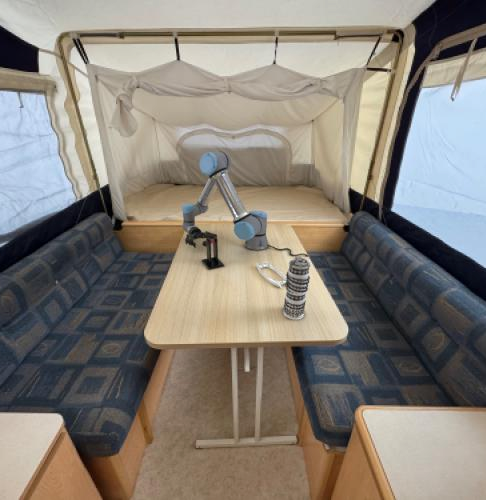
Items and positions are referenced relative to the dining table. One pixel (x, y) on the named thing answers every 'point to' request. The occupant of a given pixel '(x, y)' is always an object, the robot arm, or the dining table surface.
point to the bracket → (213, 261)
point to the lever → (205, 242)
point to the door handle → (269, 277)
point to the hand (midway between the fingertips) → (206, 243)
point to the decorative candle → (296, 288)
